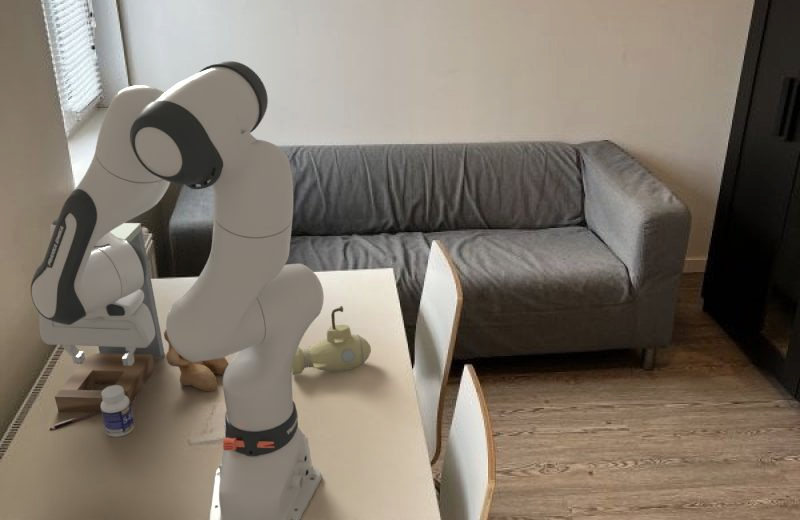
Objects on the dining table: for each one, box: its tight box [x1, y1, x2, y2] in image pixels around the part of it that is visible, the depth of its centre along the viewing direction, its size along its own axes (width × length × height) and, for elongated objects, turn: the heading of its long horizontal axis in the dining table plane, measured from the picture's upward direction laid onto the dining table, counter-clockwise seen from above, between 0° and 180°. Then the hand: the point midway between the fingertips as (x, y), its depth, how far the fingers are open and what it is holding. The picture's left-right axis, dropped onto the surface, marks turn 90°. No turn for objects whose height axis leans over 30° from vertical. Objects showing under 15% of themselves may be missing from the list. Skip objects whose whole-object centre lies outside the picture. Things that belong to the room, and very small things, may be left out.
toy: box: [292, 305, 372, 376], centre depth 163 cm, size 9×17×15 cm, turn 105°
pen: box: [49, 411, 102, 431], centre depth 153 cm, size 11×1×1 cm, turn 124°
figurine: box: [163, 329, 229, 392], centre depth 162 cm, size 11×9×15 cm
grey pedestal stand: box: [97, 222, 165, 359], centre depth 163 cm, size 10×14×32 cm
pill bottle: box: [100, 385, 135, 438], centre depth 148 cm, size 5×5×9 cm
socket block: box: [54, 352, 155, 413], centre depth 161 cm, size 16×14×4 cm
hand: (104, 362), depth 144 cm, fingers open, 8 cm apart
